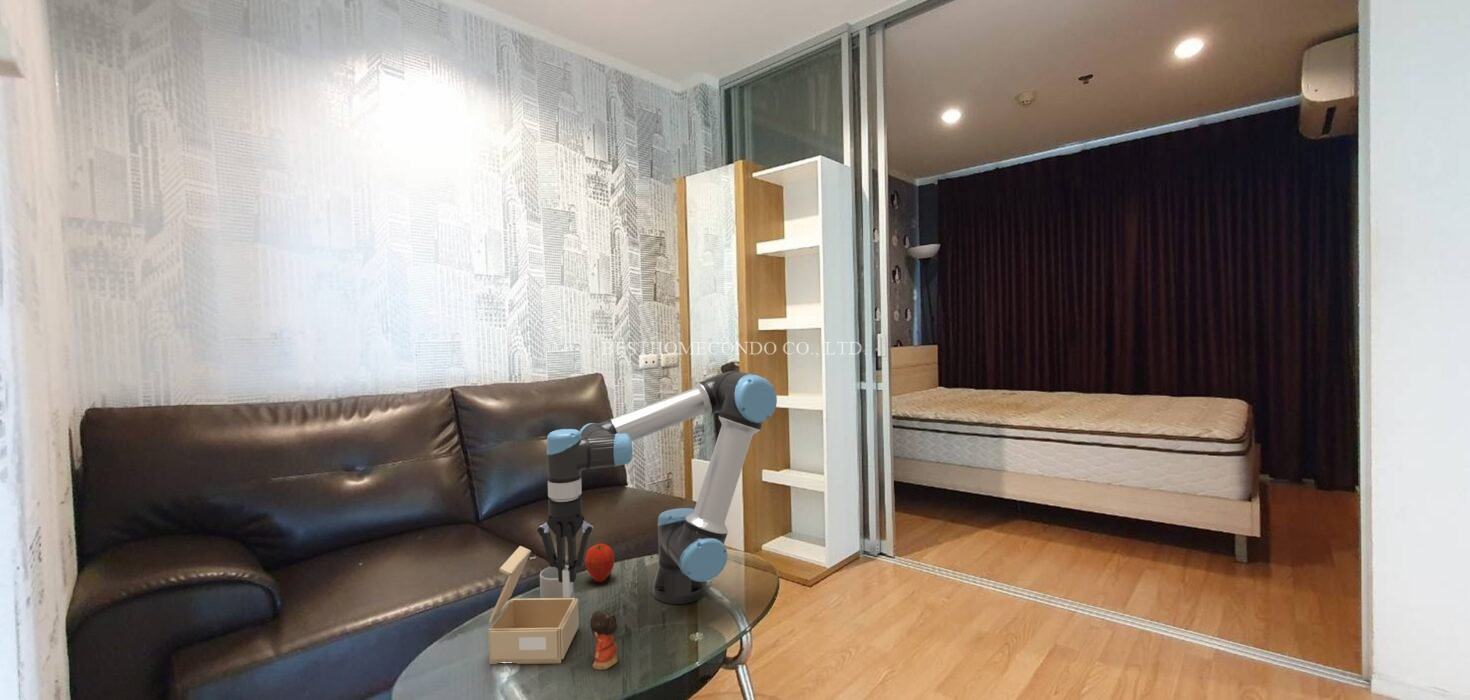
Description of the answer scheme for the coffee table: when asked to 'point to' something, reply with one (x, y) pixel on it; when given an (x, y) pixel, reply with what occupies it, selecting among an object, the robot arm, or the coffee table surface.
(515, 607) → the carton
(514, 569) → the lid
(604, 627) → the figurine
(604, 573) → the apple
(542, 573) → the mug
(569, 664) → the coffee table surface
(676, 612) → the coffee table surface
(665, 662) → the coffee table surface
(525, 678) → the coffee table surface
